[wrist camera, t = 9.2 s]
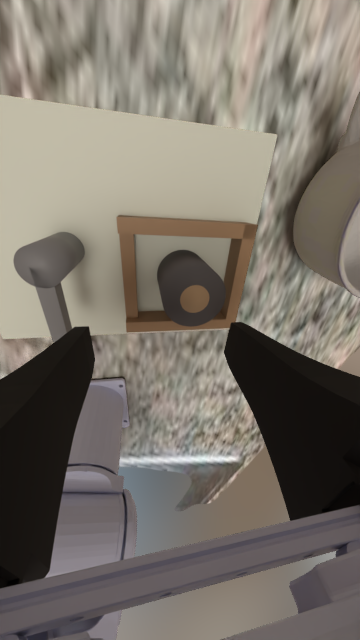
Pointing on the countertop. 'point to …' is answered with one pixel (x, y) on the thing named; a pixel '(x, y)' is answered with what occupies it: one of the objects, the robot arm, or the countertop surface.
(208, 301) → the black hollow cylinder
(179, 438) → the countertop surface
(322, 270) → the teacup
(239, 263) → the board
